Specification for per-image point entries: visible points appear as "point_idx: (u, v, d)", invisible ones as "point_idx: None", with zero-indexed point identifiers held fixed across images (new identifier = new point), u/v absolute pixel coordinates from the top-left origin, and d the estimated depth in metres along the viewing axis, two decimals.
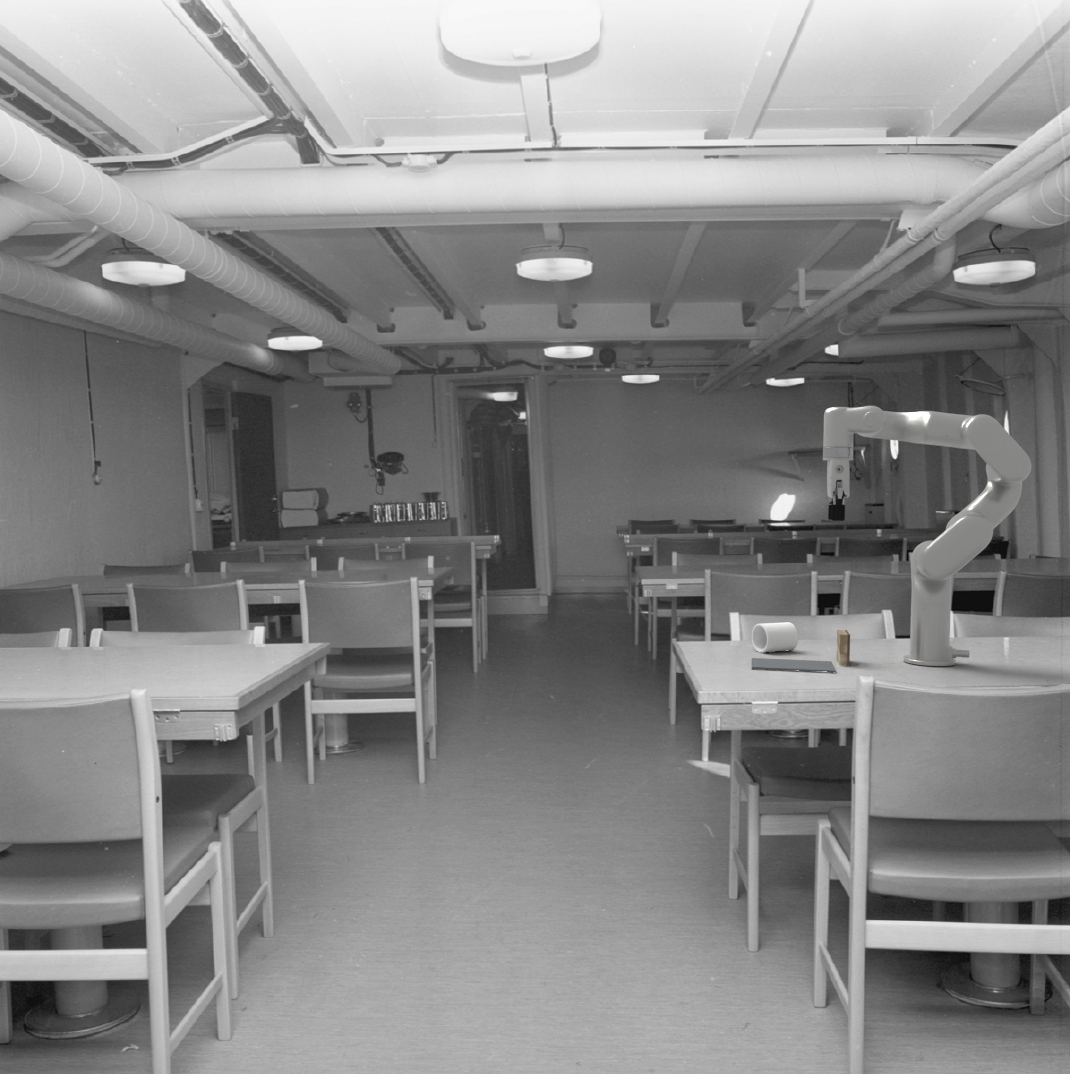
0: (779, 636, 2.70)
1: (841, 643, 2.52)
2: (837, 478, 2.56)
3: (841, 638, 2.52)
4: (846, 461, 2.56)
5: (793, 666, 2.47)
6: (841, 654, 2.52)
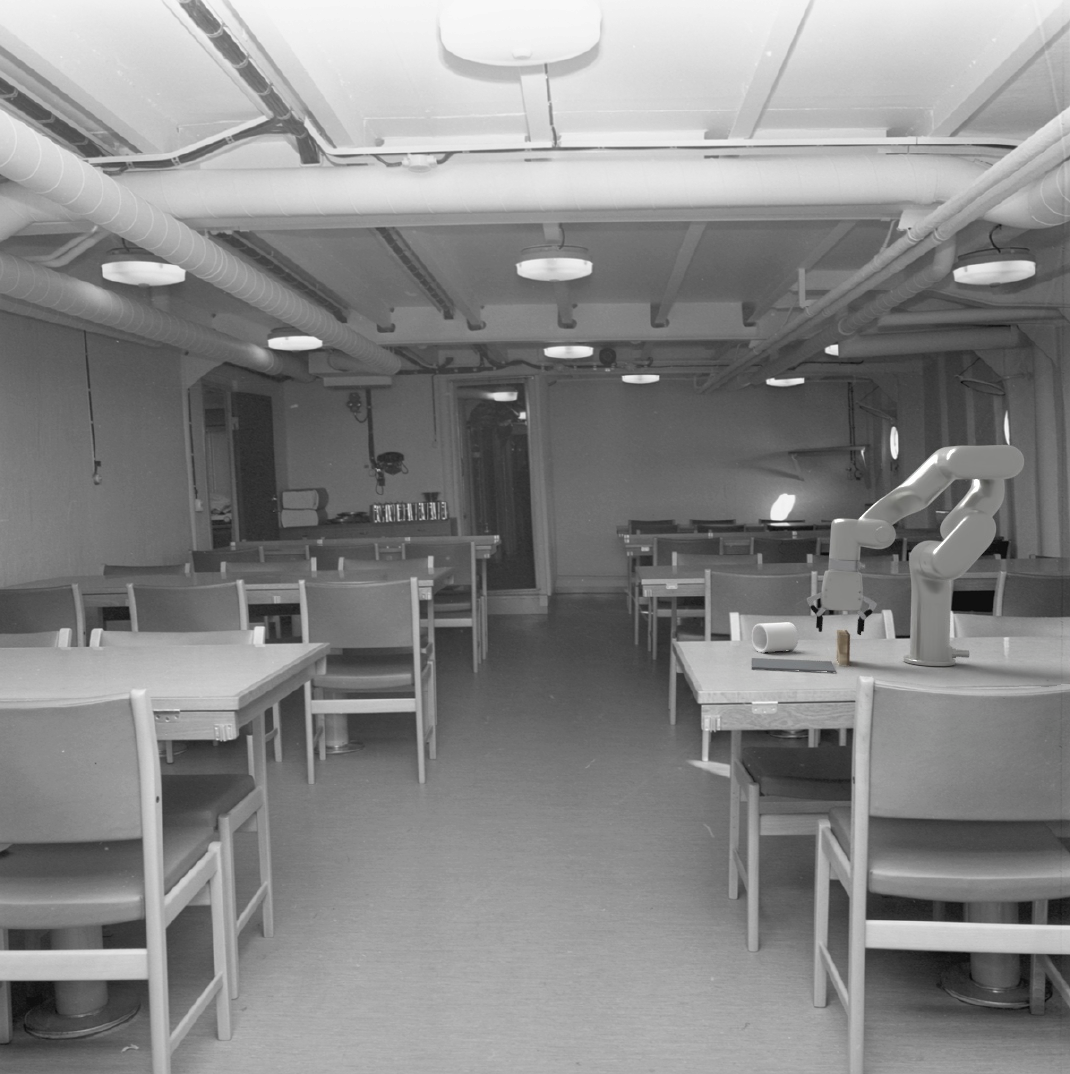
0: (779, 636, 2.70)
1: (841, 643, 2.52)
2: None
3: (841, 638, 2.52)
4: None
5: (793, 666, 2.47)
6: (841, 654, 2.52)
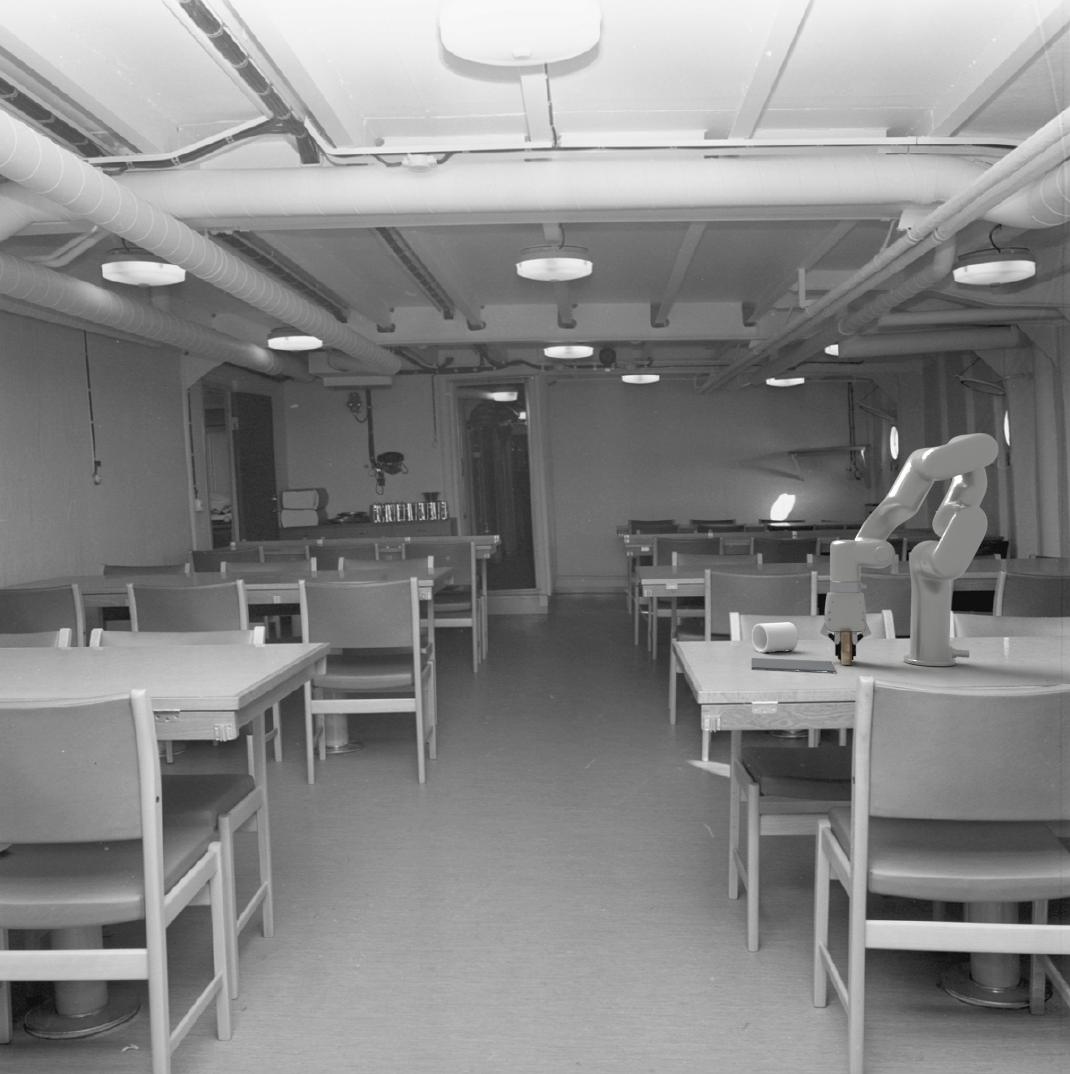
0: (779, 636, 2.70)
1: (843, 642, 2.52)
2: None
3: (843, 637, 2.52)
4: None
5: (793, 666, 2.47)
6: (843, 653, 2.52)
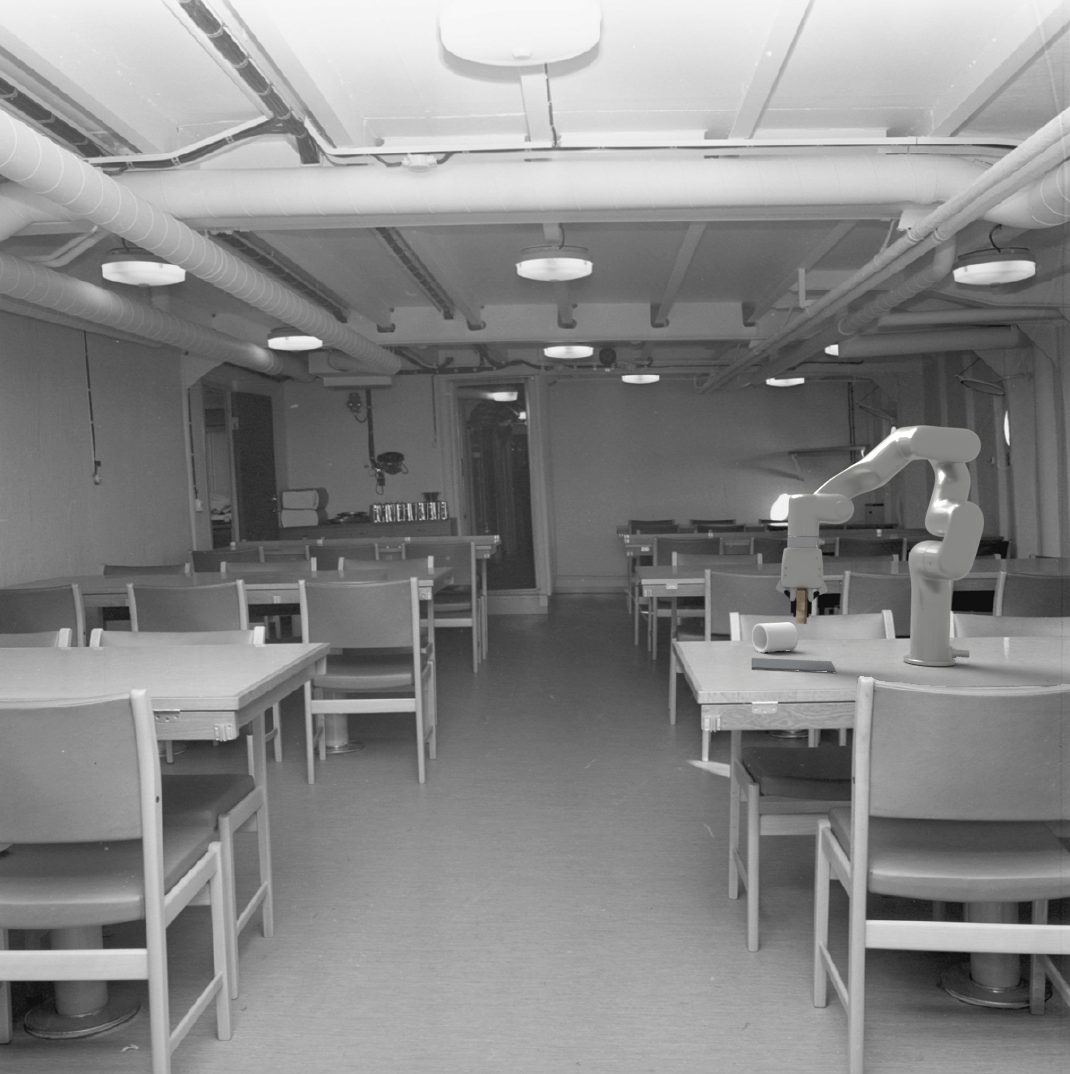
0: (779, 636, 2.70)
1: (798, 600, 2.45)
2: None
3: (798, 595, 2.45)
4: None
5: (793, 666, 2.47)
6: (798, 611, 2.45)
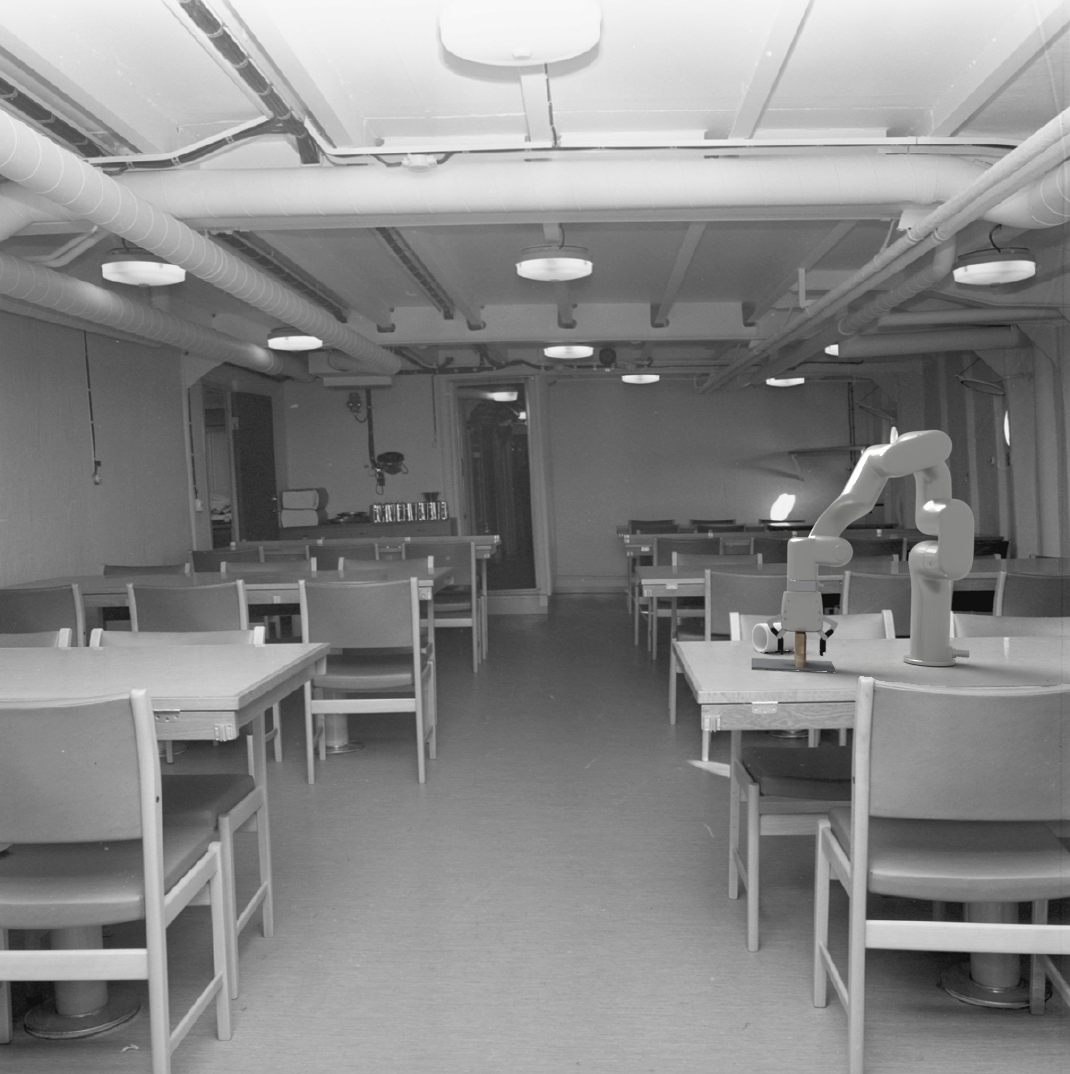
0: None
1: (797, 644, 2.46)
2: None
3: (797, 639, 2.46)
4: None
5: (793, 666, 2.47)
6: (797, 655, 2.46)
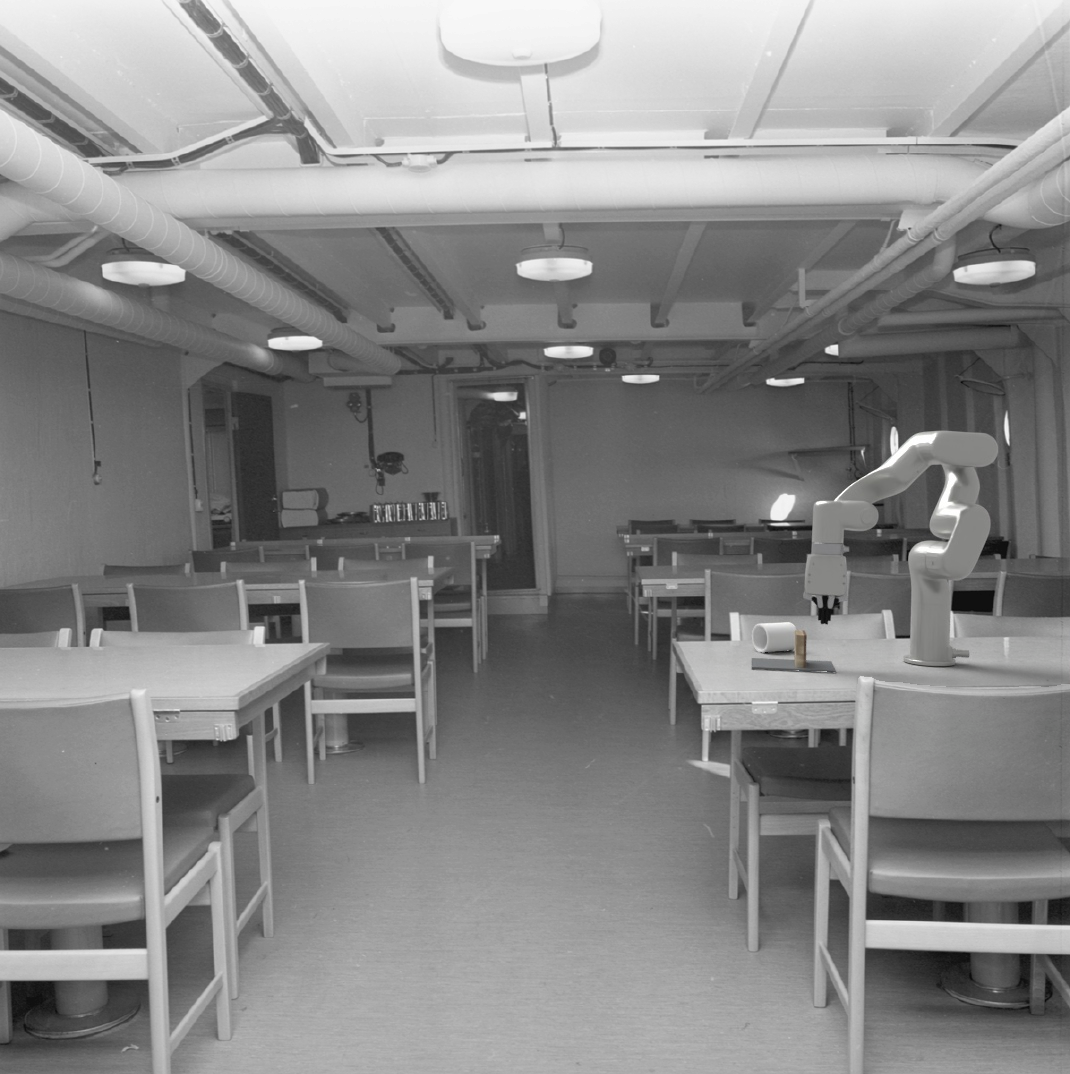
0: (779, 636, 2.70)
1: (797, 644, 2.46)
2: None
3: (797, 639, 2.46)
4: None
5: (793, 666, 2.47)
6: (797, 655, 2.46)
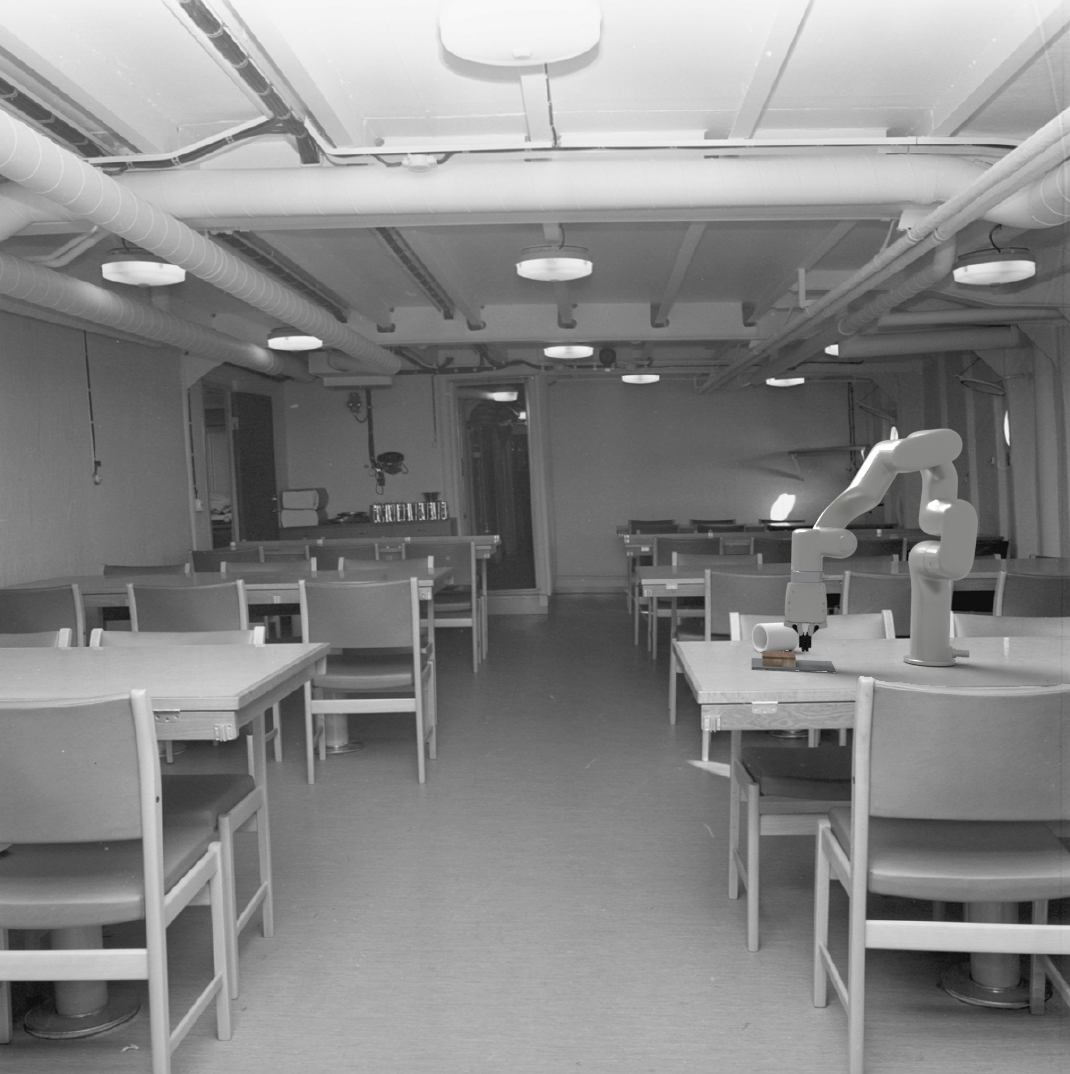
0: (779, 636, 2.70)
1: (771, 664, 2.47)
2: None
3: (766, 664, 2.47)
4: None
5: None
6: (783, 664, 2.47)
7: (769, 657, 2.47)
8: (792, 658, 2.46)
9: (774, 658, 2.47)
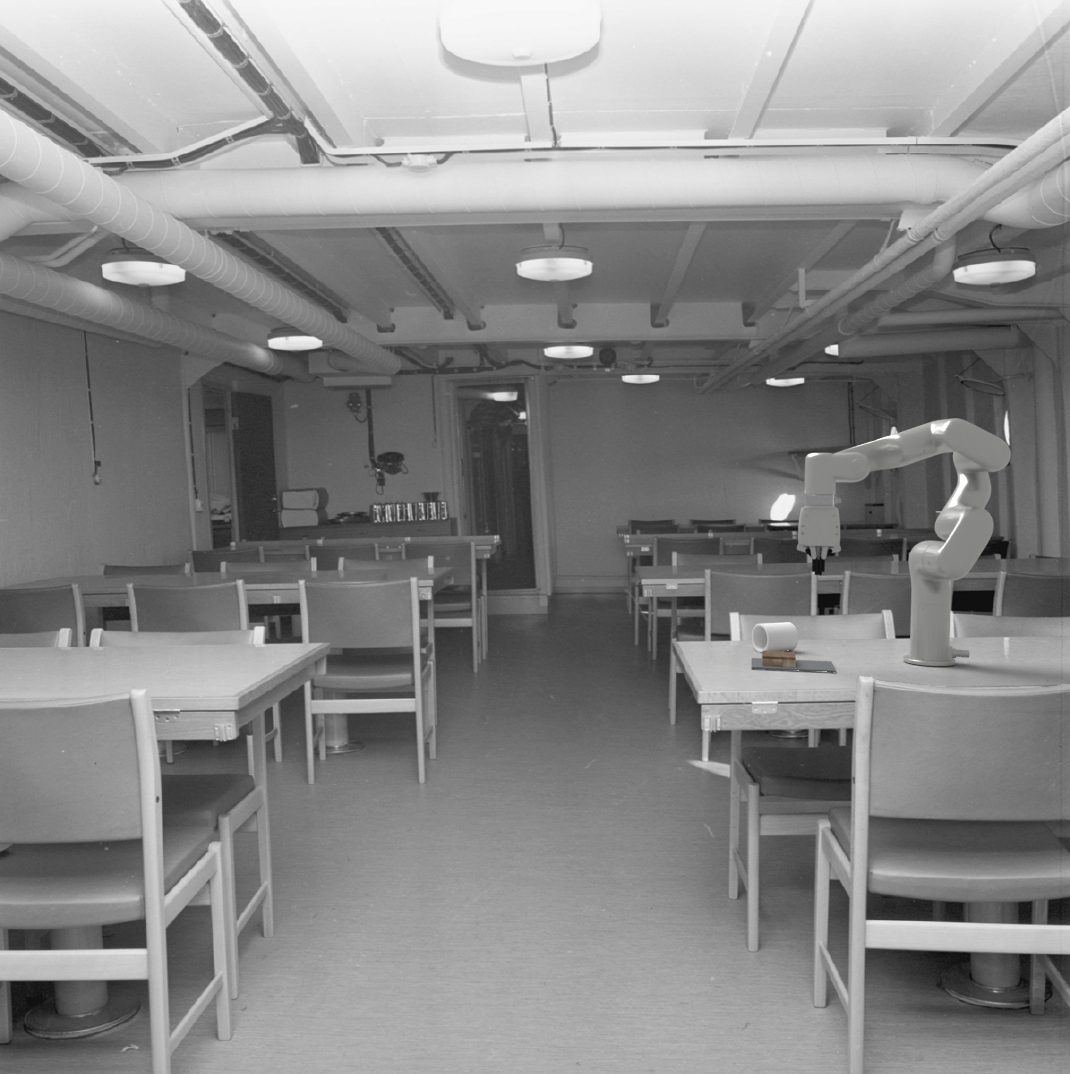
0: (779, 636, 2.70)
1: (771, 664, 2.47)
2: None
3: (766, 664, 2.47)
4: None
5: None
6: (783, 664, 2.47)
7: (769, 657, 2.47)
8: (792, 658, 2.46)
9: (774, 658, 2.47)
